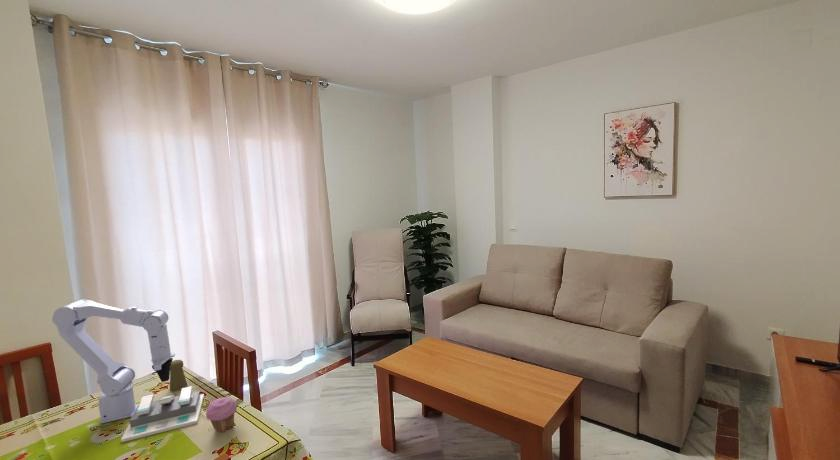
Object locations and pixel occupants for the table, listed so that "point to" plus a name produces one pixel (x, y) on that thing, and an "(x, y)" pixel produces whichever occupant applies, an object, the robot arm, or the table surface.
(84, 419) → the table surface
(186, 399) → the right switch
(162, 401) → the middle switch
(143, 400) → the left switch
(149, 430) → the switch board
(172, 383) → the cork
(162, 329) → the robot arm
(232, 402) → the cupcake
